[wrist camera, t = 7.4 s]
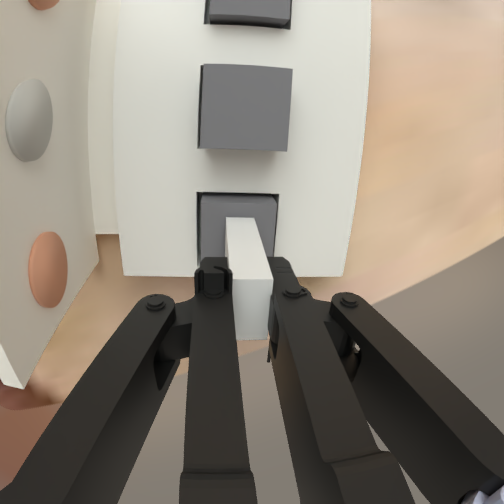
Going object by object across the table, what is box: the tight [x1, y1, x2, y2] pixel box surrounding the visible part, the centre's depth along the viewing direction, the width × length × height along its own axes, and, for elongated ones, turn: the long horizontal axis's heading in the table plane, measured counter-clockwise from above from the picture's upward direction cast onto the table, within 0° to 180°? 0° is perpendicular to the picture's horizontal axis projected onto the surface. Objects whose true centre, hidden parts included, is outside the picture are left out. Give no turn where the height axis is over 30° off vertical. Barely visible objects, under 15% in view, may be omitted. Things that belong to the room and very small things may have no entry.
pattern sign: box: [0, 0, 121, 389], centre depth 11 cm, size 20×5×13 cm, turn 177°
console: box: [113, 0, 371, 277], centre depth 17 cm, size 20×14×3 cm
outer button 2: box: [201, 192, 277, 260], centre depth 19 cm, size 4×4×3 cm
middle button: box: [200, 64, 293, 152], centre depth 15 cm, size 4×4×3 cm
